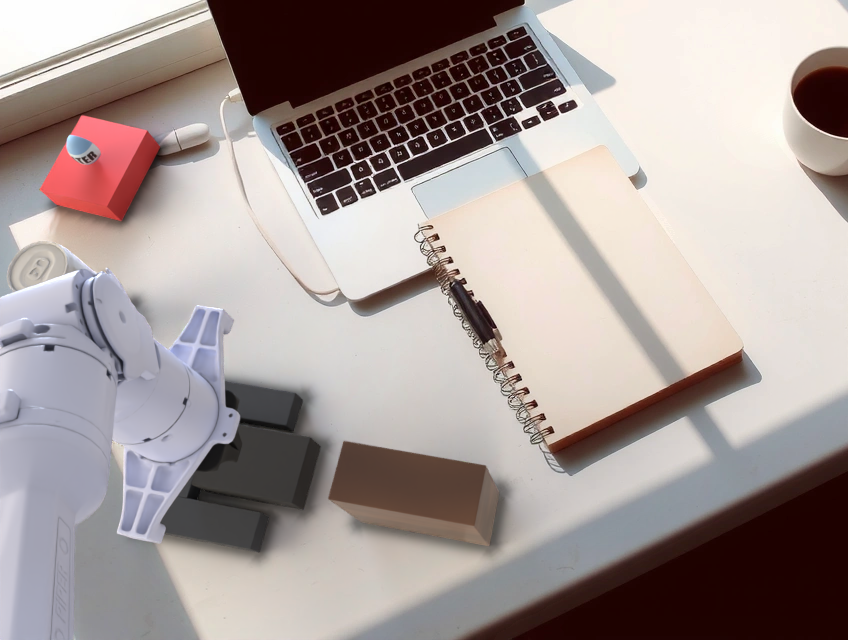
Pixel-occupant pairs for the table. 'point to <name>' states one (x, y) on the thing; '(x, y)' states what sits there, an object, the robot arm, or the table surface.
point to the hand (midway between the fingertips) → (226, 450)
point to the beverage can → (41, 264)
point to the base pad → (226, 521)
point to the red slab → (100, 167)
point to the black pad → (266, 469)
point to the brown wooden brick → (415, 492)
